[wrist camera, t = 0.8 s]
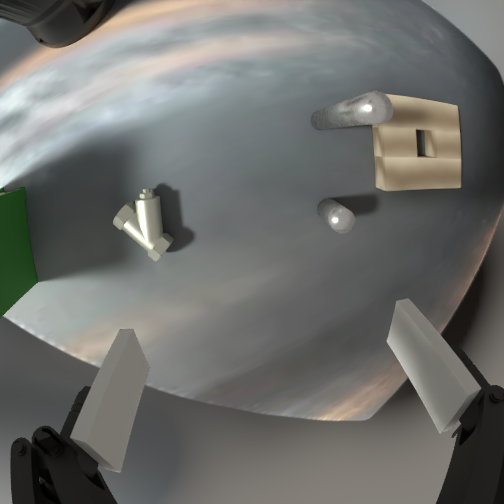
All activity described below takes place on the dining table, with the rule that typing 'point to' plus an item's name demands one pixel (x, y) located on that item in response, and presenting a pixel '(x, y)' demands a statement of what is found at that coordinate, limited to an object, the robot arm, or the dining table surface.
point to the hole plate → (405, 146)
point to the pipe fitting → (145, 223)
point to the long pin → (355, 112)
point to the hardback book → (14, 249)
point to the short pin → (336, 215)
